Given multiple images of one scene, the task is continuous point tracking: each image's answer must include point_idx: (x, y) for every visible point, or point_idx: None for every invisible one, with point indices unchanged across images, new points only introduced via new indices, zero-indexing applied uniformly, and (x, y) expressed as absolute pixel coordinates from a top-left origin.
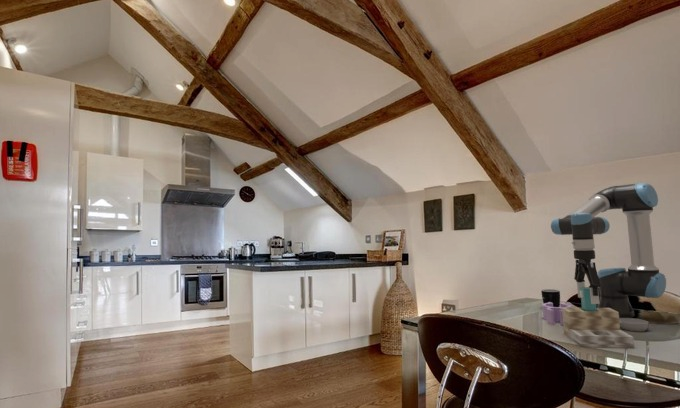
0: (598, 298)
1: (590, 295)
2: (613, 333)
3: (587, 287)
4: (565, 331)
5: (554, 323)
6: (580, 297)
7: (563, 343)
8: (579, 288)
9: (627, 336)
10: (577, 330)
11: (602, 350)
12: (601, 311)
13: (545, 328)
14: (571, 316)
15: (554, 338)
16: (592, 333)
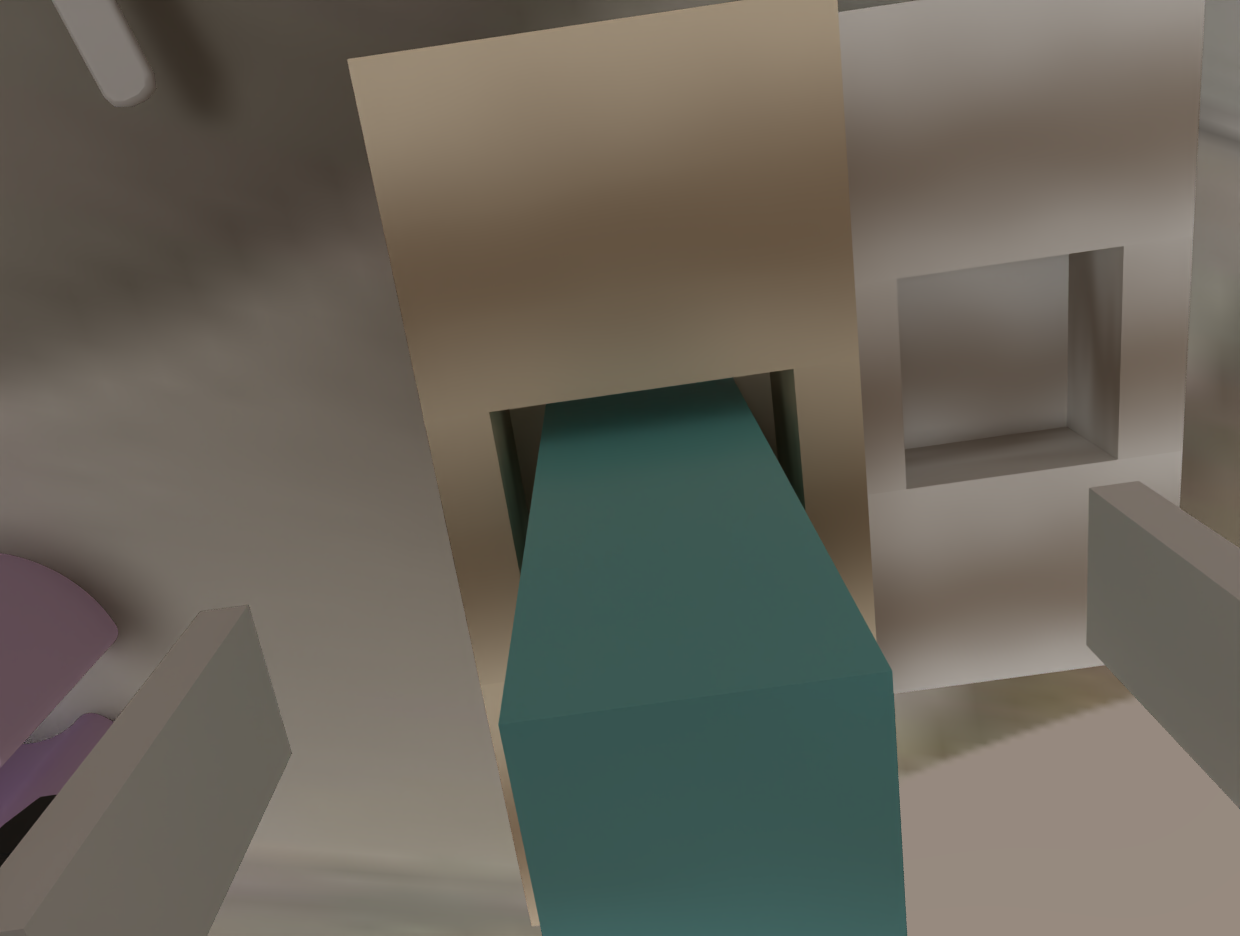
0: (1221, 552)
1: (1206, 769)
2: (1013, 198)
3: (614, 836)
4: None
5: (87, 724)
6: (276, 720)
7: (993, 732)
8: (194, 907)
9: (1177, 39)
10: (891, 632)
11: (1237, 398)
12: (815, 340)
13: (347, 830)
14: None
15: None
16: (1035, 482)
